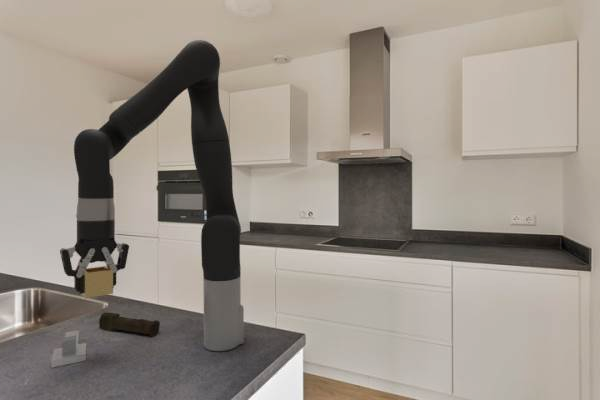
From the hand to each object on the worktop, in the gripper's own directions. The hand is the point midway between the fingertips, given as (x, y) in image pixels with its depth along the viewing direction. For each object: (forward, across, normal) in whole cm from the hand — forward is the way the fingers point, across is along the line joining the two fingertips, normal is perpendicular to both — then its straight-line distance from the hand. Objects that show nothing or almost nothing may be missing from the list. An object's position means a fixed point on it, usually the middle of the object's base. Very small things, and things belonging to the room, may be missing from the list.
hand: (96, 290), depth 79 cm
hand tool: (+16, +10, +11) cm, 22 cm away
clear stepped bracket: (+16, -3, +9) cm, 19 cm away
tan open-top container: (+1, 0, 0) cm, 1 cm away
